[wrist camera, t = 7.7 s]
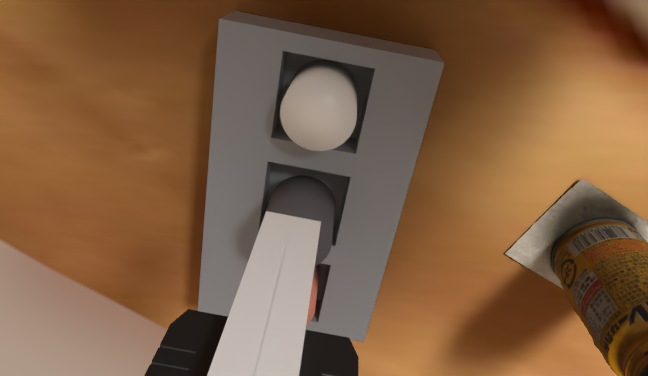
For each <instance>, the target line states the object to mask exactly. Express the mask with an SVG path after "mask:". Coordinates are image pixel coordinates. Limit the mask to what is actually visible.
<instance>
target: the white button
mask: <svg viewBox="0 0 648 376" xmlns="http://www.w3.org/2000/svg"><path fill="white" fill-rule="evenodd" d="M280 118H281V123H282V126H283V128H284V130H285V132H286V134H287V135H288V136H289V138H290V139H291V140H292V141H293V142H295V143H296V144H297V145H299V146H301V147H303V148H305V149H308V150H312V151H327V150H331V149H334V148H336V147H338V146H340V145H341V144H343V143H344V142H345V141H346V140H347V139H348V138H349V137H350V135H351V134H352V132H353V130H354V128H355V125H356V120H357V87H356V83H355V81H354V79H353V77H352V75H351V74H350V73H349V72H348V71H347V70H346V69H345V68H344V67H343V66H341V65H339V64H337V63H335V62H331V61H325V60H320V61H315V62H311V63H309V64H307V65H305V66H304V67H302V68H301V69H300V70H299V71H298V72H297V74H296V75H295V77H294V78H293V80H292V82H291V84H290V86H289V88H288V90H287V92H286V94H285V96H284V98H283V100H282V103H281V108H280Z"/></svg>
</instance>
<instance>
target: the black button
mask: <svg viewBox="0 0 648 376" xmlns="http://www.w3.org/2000/svg"><path fill="white" fill-rule="evenodd" d="M266 211H268V212H273V213H279V214H284V215H289V216H294V217H300V218H305V219H310V220H315V221H321V226H320V233H319V240H318V247H317V254H316V261H315V266H317V265H318V264H320V263H321V262H322V261H323V260H324V259H325V258H326V257H327V256H328V254H329V252H330V250H331V246H332V237H333V227H334V216H335V199H334V196H333V194H332V192H331V190H330V189H329V188H328V187H327V185H325V184H324V183H323V182H322V181H320V180H318V179H316V178H313V177H310V176H304V175H299V176H293V177H290V178H287V179H285V180H283V181H282V182H281V183H279V184H278V185H277V187H276V188H275V190H274V191H273V194H272V196H271V199H270V202H269V205H268V208H267V210H266Z"/></svg>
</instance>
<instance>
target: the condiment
mask: <svg viewBox="0 0 648 376" xmlns="http://www.w3.org/2000/svg"><path fill="white" fill-rule="evenodd" d="M547 243H548V245H549V246H546V245H547ZM548 249H550V251H548ZM505 254H506V255H508V256H509V257H511V258H512V259H514V260H516V261H517V262H519V263H521V264H522V265H524V266H525V267H527V268H529V269H531V270H532V271H534V272H535V273H537V274H538V275H540V276H542V277H543V278H545V279H547V280H549V281H550V282H552V283H554V284H555V285H557V286H559V287H560V288H562V289H563V290H564V292H565V293H566V295H567V297H568V298H569V300H570V302H571V304H572V306H573V309H574V310H575V312H576V313H577V315H578V316H579V317H580V318H581V321H582V322H583V323H584V325H585V327H586V328H587V330H588V332H589V334H590V335H591V337H592V338H593V341H594V345H595V346H596V347H597V348H598V349H599V350H600V352H601V353H602V355H603V357H604V359H605V360H606V362H607V364H608V365H609V366H610V367H611V369H612V370H613V371H614V372H615V373H616V374H617V375H618V376H648V222H647V221H645V220H644V219H642V218H641V217H639V216H638V215H637V214H635V213H634V212H632V211H631V210H629V209H628V208H626V207H624V206H623V205H621V204H620V203H618V202H617V201H616V200H614V199H613V198H611V197H610V196H608V195H607V194H606V193H604V192H603V191H601V190H600V189H598V188H596V187H595V186H593V185H592V184H591V183H589V182H588V181H586V180H585V179H581V180H580V181H579V182H578V183H577V184H576V185H575V186H574V187H573V188H571V189H570V190H569V191H568V192H567V193H566V194H565V195H563V196H562V197H561V198H560V199H559V200H558V202H557V203H555V204H554V205H553V206H552V207H551V208H550V209H549V210H548V211H547V212H546V213H545V214H544V215H543V216H542V217H541V218H540V219H539V220H538V221H536V222H535V223H534V224H533V225H532V227H531V228H530V229H529V230H528V231H527V232H526V233H525V234H524V235H523V236H522V237H521V238H520V239H518V240H517V242H516V243H515V244H514V245H513V246H512V247H511V248H510V249H509V250H508V251H507V252H506V253H505Z"/></svg>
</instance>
